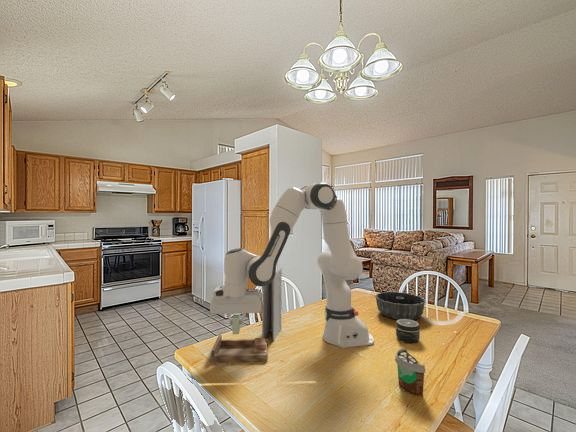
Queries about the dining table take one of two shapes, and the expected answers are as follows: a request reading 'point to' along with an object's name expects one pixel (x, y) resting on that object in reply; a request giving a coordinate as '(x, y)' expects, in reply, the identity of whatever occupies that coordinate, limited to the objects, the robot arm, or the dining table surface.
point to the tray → (236, 351)
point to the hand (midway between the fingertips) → (236, 323)
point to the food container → (410, 373)
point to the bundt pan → (400, 305)
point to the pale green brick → (236, 323)
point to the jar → (407, 331)
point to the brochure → (272, 306)
